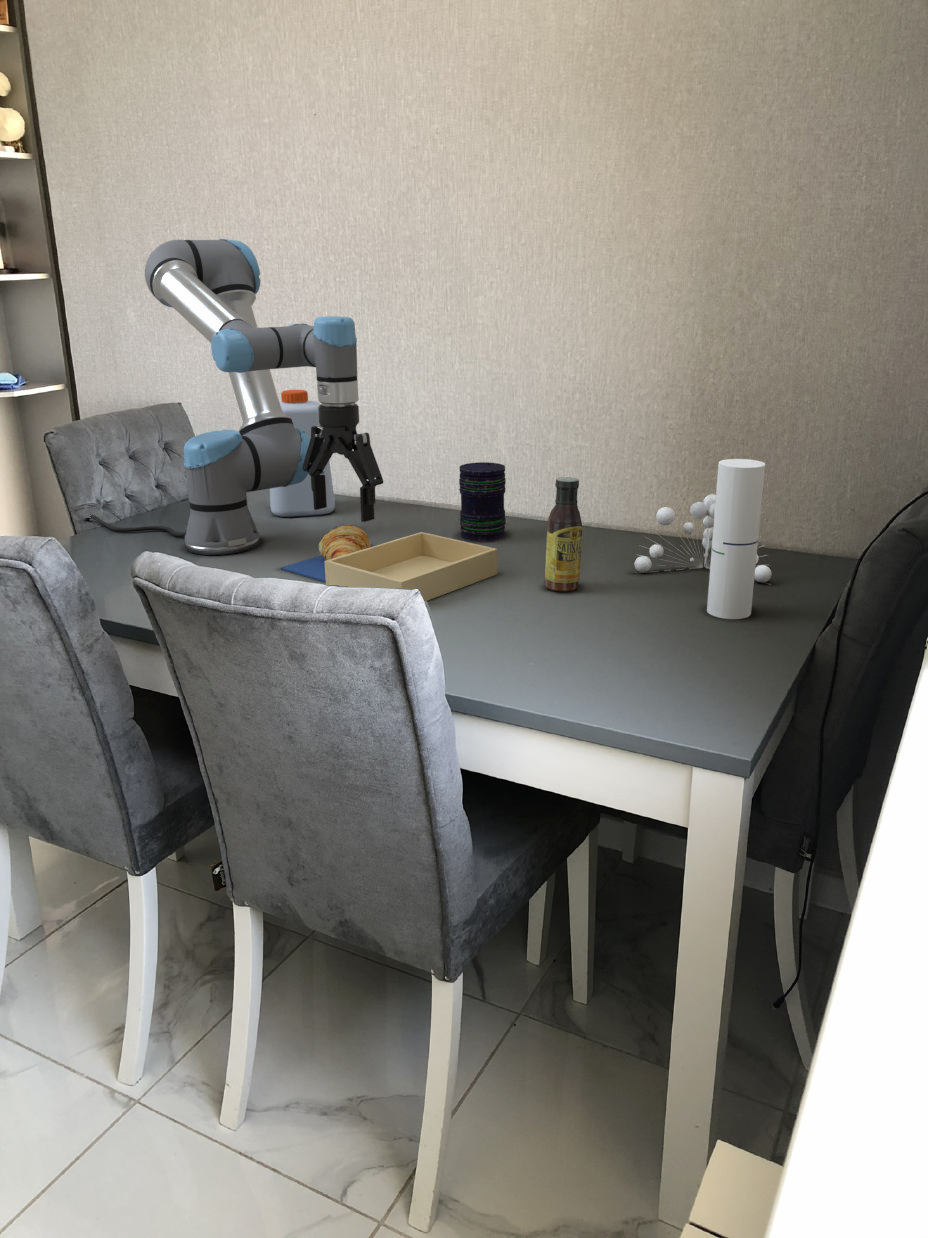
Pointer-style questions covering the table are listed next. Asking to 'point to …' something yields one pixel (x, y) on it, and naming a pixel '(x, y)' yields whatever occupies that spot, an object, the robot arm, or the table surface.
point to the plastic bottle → (300, 495)
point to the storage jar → (482, 501)
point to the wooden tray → (415, 565)
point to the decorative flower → (698, 512)
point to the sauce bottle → (564, 538)
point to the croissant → (343, 542)
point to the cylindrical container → (735, 537)
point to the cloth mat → (309, 568)
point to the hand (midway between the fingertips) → (343, 514)
